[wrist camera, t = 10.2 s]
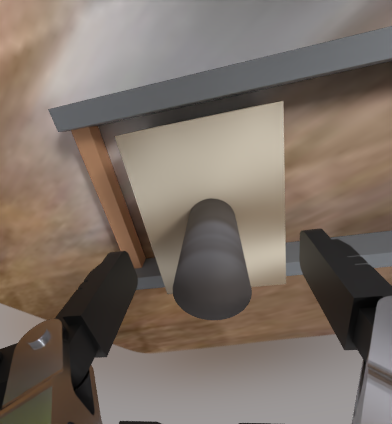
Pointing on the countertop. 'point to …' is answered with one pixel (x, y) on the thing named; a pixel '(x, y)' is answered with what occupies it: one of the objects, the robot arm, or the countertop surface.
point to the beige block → (213, 205)
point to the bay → (202, 92)
